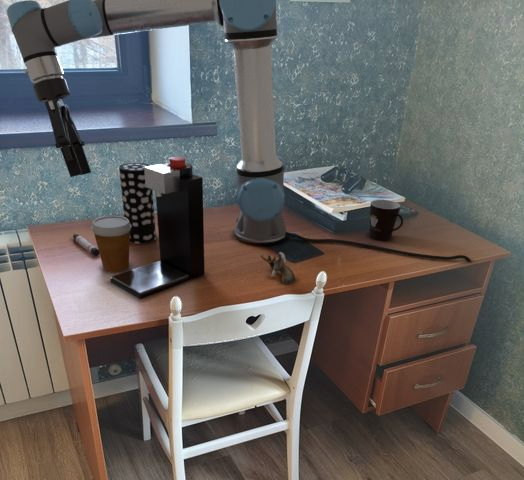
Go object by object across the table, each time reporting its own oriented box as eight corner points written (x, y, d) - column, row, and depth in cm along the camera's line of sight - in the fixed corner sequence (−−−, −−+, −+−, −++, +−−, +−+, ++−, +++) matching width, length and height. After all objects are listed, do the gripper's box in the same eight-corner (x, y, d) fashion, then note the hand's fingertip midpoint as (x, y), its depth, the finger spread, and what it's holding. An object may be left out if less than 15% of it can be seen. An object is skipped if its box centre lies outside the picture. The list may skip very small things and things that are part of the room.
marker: (100, 255, 142) (99, 248, 141) (93, 257, 141) (92, 250, 140) (77, 237, 152) (76, 230, 151) (70, 239, 151) (69, 232, 150)
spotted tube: (159, 234, 156) (154, 164, 145) (151, 244, 149) (146, 171, 138) (131, 232, 157) (124, 161, 146) (122, 242, 150) (114, 169, 139)
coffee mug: (362, 231, 165) (367, 199, 159) (389, 231, 166) (395, 199, 160) (372, 245, 155) (377, 212, 150) (401, 246, 156) (407, 212, 151)
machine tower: (207, 274, 135) (205, 168, 121) (187, 281, 131) (183, 173, 116) (177, 259, 141) (172, 158, 127) (157, 266, 137) (149, 162, 123)
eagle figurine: (253, 270, 135) (272, 277, 128) (265, 244, 134) (285, 250, 127) (275, 281, 140) (295, 288, 132) (287, 255, 139) (307, 262, 132)
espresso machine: (190, 280, 131) (187, 172, 117) (140, 299, 122) (129, 184, 108) (160, 265, 138) (153, 161, 124) (110, 282, 128) (96, 172, 114)
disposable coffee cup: (88, 270, 134) (82, 224, 127) (111, 257, 141) (106, 212, 135) (121, 278, 131) (115, 231, 124) (142, 263, 138) (138, 218, 132)
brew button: (188, 167, 122) (188, 158, 121) (176, 170, 120) (176, 161, 119) (178, 164, 124) (178, 155, 123) (166, 166, 122) (165, 158, 121)
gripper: (45, 91, 135) (75, 176, 142) (17, 77, 111) (55, 180, 119) (74, 83, 135) (103, 169, 143) (52, 68, 112) (88, 172, 119)
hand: (81, 174), depth 131 cm, fingers open, 13 cm apart
